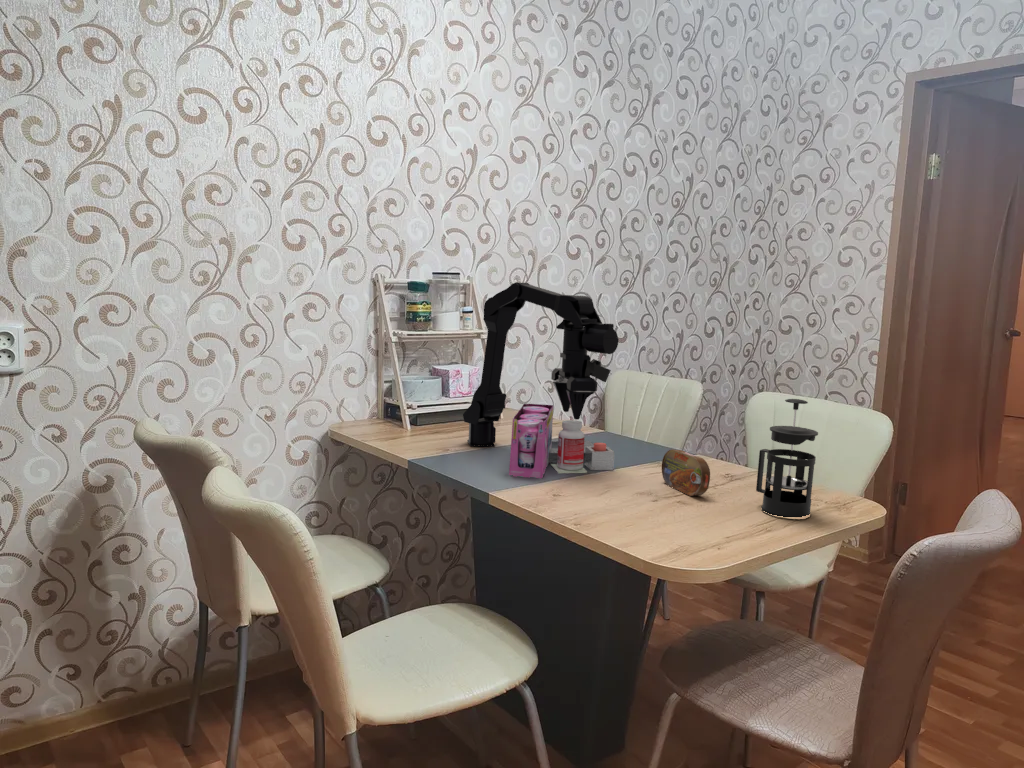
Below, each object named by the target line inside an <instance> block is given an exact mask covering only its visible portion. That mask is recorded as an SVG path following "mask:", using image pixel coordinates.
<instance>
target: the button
mask: <svg viewBox="0 0 1024 768" xmlns="http://www.w3.org/2000/svg"><path fill="white" fill-rule="evenodd" d="M593 444H594V451H606V446H607V443H604V442H594V443H593Z"/></svg>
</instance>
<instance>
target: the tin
mask: <svg viewBox="0 0 1024 768" xmlns="http://www.w3.org/2000/svg"><path fill="white" fill-rule="evenodd" d="M661 476H662V479H663V480H664V482H665V484H666V485H667V486H668V485H669V486H668V487H670V486H671V487H670V488H672V487H673V488H672V489H674V488H675V489H674V490H676V489H677V490H676V491H678V490H679V491H678V492H680V491H681V492H680V493H682V492H683V493H682V494H684V493H685V495H686V494H687V495H686V496H690V497H693V496H701V495H704V494H705V493H707V491H708V489H709V487H710V483H711V482H710V481H711V469H710V466H709V464H708V463H707V461H706V460H705V459H704V458H702V457H700V456H697V455H695V454H692V453H689V452H687V451H684V450H681V449H669V450H667V451H666V452H665V453H664V456H663V458H662V461H661Z"/></svg>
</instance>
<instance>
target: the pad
mask: <svg viewBox="0 0 1024 768" xmlns="http://www.w3.org/2000/svg"><path fill="white" fill-rule="evenodd" d="M551 466H552V467H553V468H554V469H555V470H556V471H557V472H558V473H557V472H556V471H555V470H554V469H553V468H552V467H551ZM550 467H551V468H552V469H553V470H554V471H555V472H556V473H557V474H588V471H587V470H586V468H584V467H583V468H582V469H579V470H565V469H561V468H559V467H558V466H557V463H550Z"/></svg>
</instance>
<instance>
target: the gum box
mask: <svg viewBox="0 0 1024 768" xmlns="http://www.w3.org/2000/svg"><path fill="white" fill-rule="evenodd" d="M553 420H554V404H553V405H552V404H539V403H523V404H522V405H521V407H520V409H519V410H518V412H516V414H515V415H514V416H513V418H512V425H511V441H510V442H511V443H510V453H509V454H510V455H509V456H510V457H509V468H508V469H509V471H508V476H509V475H513V476H512V477H517V476H523V477H522V478H530V477H536V478H535V479H543V476H544V475H545V472H546V470H547V468H546V467H548V465H549V463H548V460H549V452H550V449H551V446H552V441H553V440H552V439H553ZM545 469H546V470H545ZM543 474H544V475H543Z"/></svg>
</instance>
